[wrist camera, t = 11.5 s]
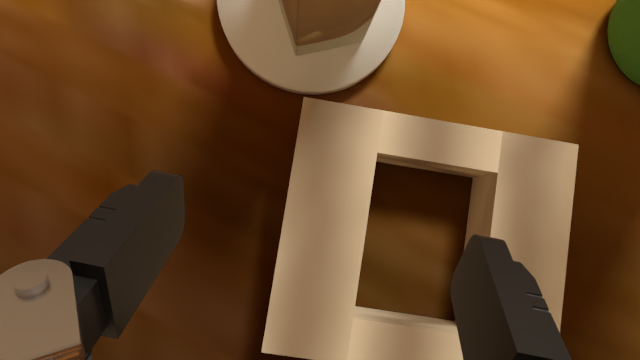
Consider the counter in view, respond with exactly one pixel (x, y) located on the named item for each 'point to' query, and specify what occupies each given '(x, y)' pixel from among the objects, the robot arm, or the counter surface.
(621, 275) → the counter surface
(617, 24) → the wine bottle
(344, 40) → the skincare box
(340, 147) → the beige flat frame
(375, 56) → the dish
